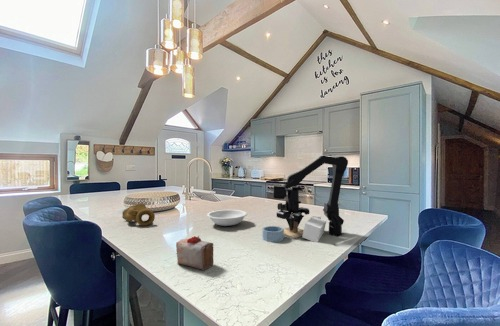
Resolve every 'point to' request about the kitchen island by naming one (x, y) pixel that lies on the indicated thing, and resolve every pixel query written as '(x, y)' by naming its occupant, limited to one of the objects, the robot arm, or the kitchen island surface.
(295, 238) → the rubber mat
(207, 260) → the food item
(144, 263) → the kitchen island surface
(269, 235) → the ceramic bowl
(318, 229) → the milk carton
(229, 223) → the soup bowl
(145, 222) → the brown looped sculpture
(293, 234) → the oak lid
